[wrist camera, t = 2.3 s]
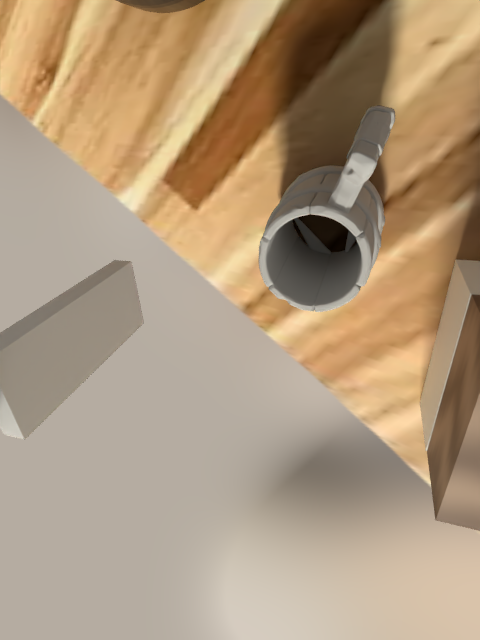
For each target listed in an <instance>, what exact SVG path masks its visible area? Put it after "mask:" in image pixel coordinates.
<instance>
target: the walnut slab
mask: <svg viewBox="0 0 480 640" xmlns="http://www.w3.org/2000/svg"><path fill="white" fill-rule="evenodd" d="M427 456H428V464H429V471H430V479H431V487H432V495H433V503H434V511H435V519H436V520H437V521H441V522H445V523H450V524H454V525H458V526H462V527H466V528H471V529H475V530H479V531H480V295H474V294H471V298H470V301H469V305H468V308H467V312H466V315H465V319H464V323H463V326H462V330H461V333H460V337H459V340H458V344H457V347H456V351H455V354H454V358H453V361H452V365H451V368H450V372H449V375H448V379H447V382H446V386H445V389H444V393H443V396H442V400H441V403H440V407H439V411H438V414H437V418H436V421H435V425H434V428H433V432H432V435H431V439H430V442H429V446H428V449H427Z"/></svg>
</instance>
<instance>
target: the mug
mask: <svg viewBox="0 0 480 640" xmlns="http://www.w3.org/2000/svg"><path fill="white" fill-rule="evenodd" d="M394 121H395V111H394V109H392V108H388V107H384V106H373V107H370V108H369V109H367V111H366V113H365V115H364V116H363V118H362V120H361V122H360V126H359V128H358V130H357V132H356V135H355V137H354V142H353V144H352V146H351V148H350V150H349V152H348V154H347V159H348V160H347V162H346V164H345V166H335V165H329V166H322V167H318V168H314V169H312V170H310V171H308V172H306V173H303V174H301V175H299V176H298V177H297V179H296V180H295V181H294V182H293V183H292V184H291V185H290V186H289V187H288V188H287V190H286V191H285V193H284V195H283V197H282V199H281V201H280V203H279V204H278V206H277V207H276V208H275V209H274V211H273V212H272V214H271V216H270V217H269V220H268V222H267V225H266V228H265V232H264V234H263V237H262V239H261V241H260V247H259V268H260V272H261V275H262V278H263V280H264V282H265V284H266V286H267V287H269V290H270V291H271V292H273V293H274V295H275V296H276V297H277V298H279V299H285V300H286V301H288V303H289V304H290V305H292V306H294V307H297V308H299V309H301V310H308V311H314V310H315V312H323V311H328V310H332V309H336V308H338V307H340V306H343V305H344V304H346V303H348V302H349V301H351V300H352V299H353V298H354V297H355V296H356V295H357V294H358V292H359V291H360V288H361V286H364V285H365V284H366V282H367V280H368V277H369V274H370V271H371V269H372V267H373V265H374V263H375V261H376V258H377V255H378V252H379V248H380V247H381V233H382V229H383V226H384V223H385V216H384V209H383V204H382V200H381V197H380V195H379V193H378V191H377V190H376V188H375V186H374V185H373V184H372V183H371V182H370V180H369V178H370V176H371V175H372V173H373V172H374V170H375V167H376V165H377V160H378V158H379V156H381V154H382V152H383V149H384V145H385V143H386V142H387V139H388V137H389V134H390V130H391V128H392V126H393V124H394ZM309 214H311V215H320V216H325V217H328V218H331V219H334V220H336V221H338V222H339V223H341V224H342V225H344V226H345V227H346V228H347V229H348V230H349V231H348V237H347V242H346V248H345V250H343V251H340V252H331V251H330V250H329V249H328V248H327V247H326V246H325V245H324V244H323V243H322V242H321V241H320V240H319V239H318V238H317V237H316V236H315V235H314V234H313V233H312V232H311V231H310V230H309V229H308V228H307V227H306V226H305V225H304V224H303V222H302V221H301V220H300V219H299V218H298V217H300V216H304V215H309ZM292 219H294V220H295V221H296V223H297V225H298V227H299V229H300V231H301V233H302V235H303V237H304V239H305V241H306V242H307V244H308V245H307V244H305V243H304V242H303V241H302V239H301V238H300V237H299V236H298V234H297V232H296V230H295V228H294V225H293V220H292ZM355 240H357V243H356V244H355V245H353V243H354V242H355ZM352 245H353V246H352ZM351 246H352V247H351Z"/></svg>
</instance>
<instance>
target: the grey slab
mask: <svg viewBox="0 0 480 640" xmlns="http://www.w3.org/2000/svg"><path fill="white" fill-rule="evenodd" d="M471 294H474V295H480V261H473V260H456V259H455V263H454V267H453V271H452V275H451V279H450V283H449V287H448V292H447V296H446V300H445V304H444V308H443V312H442V316H441V320H440V324H439V328H438V332H437V336H436V340H435V344H434V348H433V352H432V356H431V360H430V364H429V368H428V372H427V376H426V380H425V384H424V388H423V392H422V396H421V400H420V408H421V416H422V424H423V432H424V440H425V448H426V451H427V449H428V446H429V442H430V439H431V435H432V432H433V428H434V425H435V421H436V418H437V414H438V411H439V407H440V403H441V400H442V396H443V393H444V389H445V386H446V382H447V379H448V375H449V372H450V368H451V365H452V361H453V358H454V354H455V351H456V347H457V344H458V340H459V337H460V333H461V330H462V326H463V323H464V319H465V315H466V312H467V308H468V305H469V301H470V298H471Z"/></svg>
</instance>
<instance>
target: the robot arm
mask: <svg viewBox="0 0 480 640" xmlns="http://www.w3.org/2000/svg"><path fill="white" fill-rule="evenodd" d="M116 1H119V2H121V3H124V4H127V5H130V6H133V7H136V8H139V9H142V10H145V11H150V12H157V13H169V12H176V11H181V10H185V9H188V8H190V7H193V6H195V5H197V4H199V3H201V2H203V1H205V0H116ZM143 323H144V321H143V316H142V311H141V306H140V301H139V296H138V291H137V287H136V281H135V276H134V272H133V267H132V262H130V261H116V260H115V261H113V262H111V263H109V264H108V265H106V266H105V267H104V268H102V269H100V270H99V271H97V272H95V273H94V274H92V275H91V276H89V277H88V278H86V279H84V280H83V281H81V282H80V283H78V284H76V285H75V286H73V287H72V288H70V289H69V290H67V291H66V292H64V293H62V294H61V295H59V296H58V297H56V298H54V299H53V300H51V301H50V302H48V303H47V304H45V305H43V306H42V307H40V308H39V309H37V310H36V311H34V312H33V313H31V314H29V315H28V316H26V317H24V318H23V319H22V320H20V321H18V322H17V323H15V324H13V325H12V326H10V327H9V328H7V329H6V330H4V331H3V332H1V333H0V428H1V430H2V432H3V434H4V435H8V436H12V437H16V438H20V439H24V440H25V439H26V438H27V437H28V436H29V435H30V434H31V433H32V432H33V431H34V430H35V429H36V428H37V427H38V426H39V425H40V424H41V423H42V422H43V421H44V420H45V419H46V418H47V417H48V416H49V415H50V414H51V413H52V412H53V411H54V410H56V409H57V407H59V406H60V405H61V404H62V403H63V402H64V401H65V400H66V399H67V398H68V397H69V396H70V395H71V394H72V393H73V392H74V391H75V390H76V389H77V388H78V387H79V386H80V385H81V384H82V383H83V382H84V381H85V380H86V379H87V378H88V377H89V376H90V375H91V374H92V373H93V372H94V371H95V370H96V369H97V368H98V367H99V366H100V365H101V364H102V363H104V361H105V360H107V359H108V357H110V356H111V355H112V354H113V353H114V352H115V351H116V350H117V349H118V348H119V347H120V346H121V345H122V344H123V343H124V342H125V341H126V340H127V339H128V338H129V337H130V336H131V335H132V334H133V333H134V332H135V331H136V330H137V329H138V328H139V327H140V326H141V325H142V324H143Z"/></svg>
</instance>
